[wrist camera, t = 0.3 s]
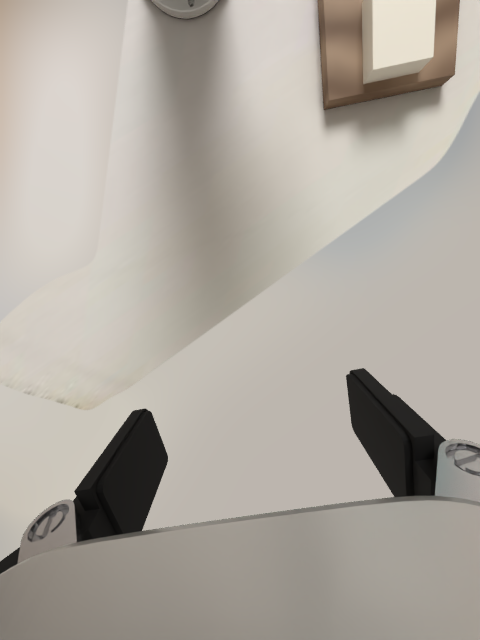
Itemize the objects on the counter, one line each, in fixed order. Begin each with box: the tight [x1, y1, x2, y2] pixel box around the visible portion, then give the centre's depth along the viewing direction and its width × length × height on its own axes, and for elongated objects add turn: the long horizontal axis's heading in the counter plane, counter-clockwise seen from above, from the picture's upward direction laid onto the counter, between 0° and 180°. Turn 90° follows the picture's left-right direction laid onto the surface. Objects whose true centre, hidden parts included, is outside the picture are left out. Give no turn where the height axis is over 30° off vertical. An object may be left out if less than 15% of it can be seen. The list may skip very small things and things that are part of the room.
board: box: [318, 0, 460, 110], centre depth 29 cm, size 14×16×2 cm
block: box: [362, 0, 436, 84], centre depth 28 cm, size 8×7×2 cm
